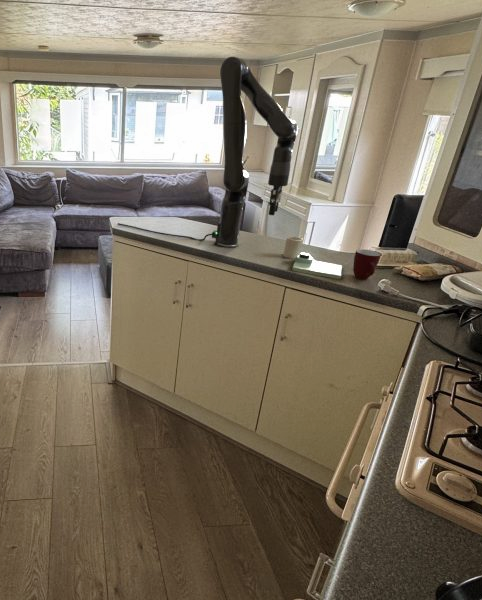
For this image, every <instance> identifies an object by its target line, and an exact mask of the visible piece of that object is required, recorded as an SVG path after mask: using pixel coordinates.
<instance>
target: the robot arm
mask: <svg viewBox="0 0 482 600" xmlns="http://www.w3.org/2000/svg"><path fill="white" fill-rule="evenodd" d="M219 70H220V71H219V78H220V86H221V93H222V137H223V153H224V167H223V186H224V188H225V192H224V195H223V198H222V201H221V208H220V215H219V220H218V221H219V222H218V223H217V227H216V230H213V231H212V232H211V233H207V234H206V235H204V237H203V238H201V239H199V238H195V237H192V236H187V235H180V234H172V233H166V232H159V231H154V230H151V229H145V228H141V227H137V226H133V225H129V224H125V223H120V222H118V223H117V225H119V226H123V227H127V228H133V229H136V230H140V231H143V232H144V231H145V232H149V233H153V234H157V235H162V236H163V235H165V236H168V237H169V236H170V237H177V238H185V239H191V240H196V241H201V242H203V241H205V240H206V238H207V237H209V236H211V238H212V239H215V241H214V245H218V246H220V247H223V248H224V247H225V248H235V247H238V242H239V238H240V229H241V222H242V217H243V211H244V210H243V209H244V204H245V201H246V198H247V192H248V188H249V183H250V182H249V181H250V177H249V176H250V175H249V173H248V172H247V170H246V169H244V160H243V159H244V150H245V146H246V139H247V115H246V110H245V106H244V102H243V99H242V92H243V94H244V95H245V96H246V97H247V99H248V100H249V102H250V103H251V105H252V107H253V108H254V110H255V111H256V112H257V114H258V115H259V116H260V118H262V119H263V120H264V121H265V122H266V123H267V125H268V126H269V127H270V129H271V131H272V132H273V133H274V135H275V136H276V137H277V141H276V146H275V147H274V149H273V154H272V159H271V165H270V167H269V168H270V169H269V174H268V182H267V184H268V186H272V189H271V190H270V196H269V202H268V205H269V208H268V209H269V210H268V215H269V216H275V214H276V213H275V212H278V211H279V210H278V209H279V203H280V201H281V199H282V194H283V187H287V186H288V183H289V179H290V178H289V177H290V172H291V163H292V157H293V149H294V145H295V143H296V139H297V134H298V129H299V128H298V124H297V122H296V121H295V120H292V119H289V117H288V116H287V115H286V114H285V113H284V112H283V108H281V106H280V105H279V104H278V102H276V100H275V99H274V98H273V97H272V96H271V94H269V93H268V92H267V90H266V89H265V88H264V87H263V86H262V85H261V84H260V83H259V81H258V80H257V78H256V77H255V76H254V74H253V72H252V71H251V69H250V67H249V66H248V64H247V62H246V61H245V60H244V59H243V58H241V57H237V56H229V57H227V58H225V59H224V60H223V61H222V63H221V66H220V69H219Z"/></svg>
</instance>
